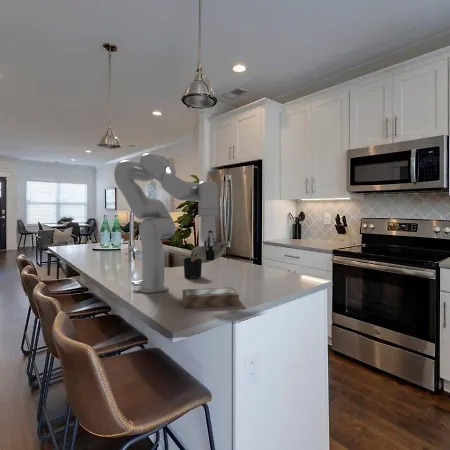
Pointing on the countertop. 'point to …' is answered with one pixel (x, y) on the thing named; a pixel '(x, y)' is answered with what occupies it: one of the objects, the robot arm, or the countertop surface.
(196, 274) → the pen holder
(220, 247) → the decorative bird
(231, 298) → the walnut plinth
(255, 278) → the countertop surface
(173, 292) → the countertop surface
